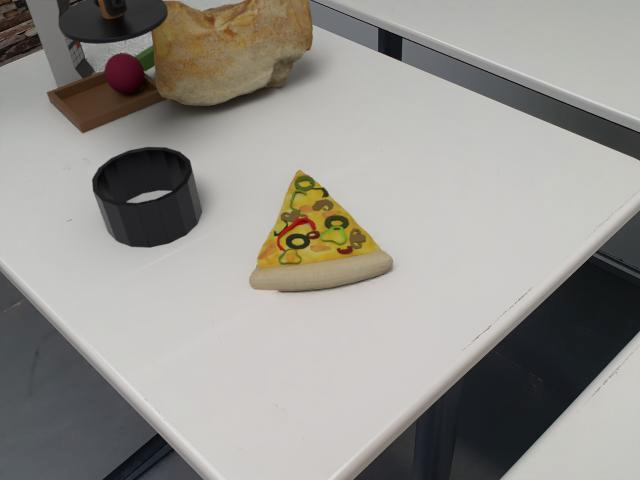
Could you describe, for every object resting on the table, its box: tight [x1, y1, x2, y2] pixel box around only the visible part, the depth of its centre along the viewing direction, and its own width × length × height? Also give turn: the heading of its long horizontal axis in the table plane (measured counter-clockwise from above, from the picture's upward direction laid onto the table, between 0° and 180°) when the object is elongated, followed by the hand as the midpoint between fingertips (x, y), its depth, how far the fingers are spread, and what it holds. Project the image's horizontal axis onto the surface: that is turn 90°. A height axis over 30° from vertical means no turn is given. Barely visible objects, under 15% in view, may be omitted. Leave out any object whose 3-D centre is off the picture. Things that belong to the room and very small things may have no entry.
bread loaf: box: [150, 0, 314, 107], centre depth 99 cm, size 23×17×15 cm
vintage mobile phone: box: [25, 0, 97, 88], centre depth 98 cm, size 4×5×25 cm
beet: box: [104, 44, 155, 94], centre depth 101 cm, size 6×6×12 cm
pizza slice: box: [249, 169, 394, 292], centre depth 79 cm, size 16×21×3 cm
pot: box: [91, 146, 203, 249], centre depth 81 cm, size 11×11×6 cm
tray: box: [46, 69, 168, 134], centre depth 101 cm, size 14×12×2 cm
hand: (111, 8), depth 78 cm, fingers closed on lid, 2 cm apart
